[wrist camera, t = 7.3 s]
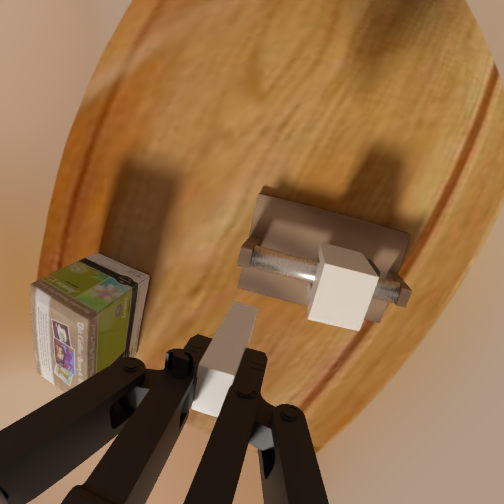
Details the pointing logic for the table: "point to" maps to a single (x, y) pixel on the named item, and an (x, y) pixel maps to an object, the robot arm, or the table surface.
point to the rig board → (306, 245)
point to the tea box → (86, 318)
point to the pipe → (310, 271)
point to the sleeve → (341, 287)
